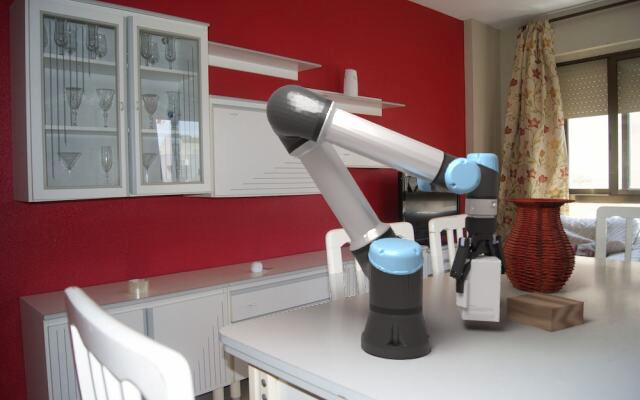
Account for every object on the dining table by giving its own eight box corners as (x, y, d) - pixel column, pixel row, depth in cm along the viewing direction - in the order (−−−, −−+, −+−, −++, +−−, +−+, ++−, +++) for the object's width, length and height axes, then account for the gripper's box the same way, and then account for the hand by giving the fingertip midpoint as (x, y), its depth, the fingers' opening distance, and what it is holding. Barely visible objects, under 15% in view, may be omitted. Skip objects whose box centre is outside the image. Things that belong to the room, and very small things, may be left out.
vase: (556, 300, 150) (558, 201, 149) (486, 287, 168) (487, 199, 167) (587, 289, 166) (589, 199, 165) (519, 278, 183) (521, 197, 182)
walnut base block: (551, 333, 120) (551, 309, 120) (506, 320, 131) (506, 297, 131) (583, 325, 127) (583, 302, 126) (538, 313, 138) (538, 291, 138)
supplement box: (500, 322, 118) (502, 260, 118) (461, 320, 120) (463, 258, 119) (494, 312, 127) (495, 254, 127) (458, 310, 129) (459, 253, 128)
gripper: (461, 219, 112) (458, 313, 113) (523, 215, 127) (520, 299, 128) (435, 216, 118) (433, 306, 119) (497, 213, 133) (495, 293, 134)
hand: (478, 302), depth 123 cm, fingers closed on supplement box, 12 cm apart
